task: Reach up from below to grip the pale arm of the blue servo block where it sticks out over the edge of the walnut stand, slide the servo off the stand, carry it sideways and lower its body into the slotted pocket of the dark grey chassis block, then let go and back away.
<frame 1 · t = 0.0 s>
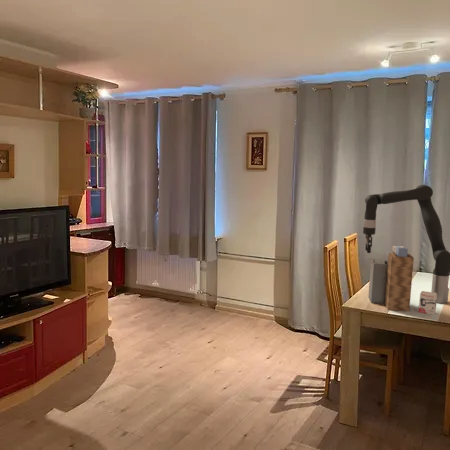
hand: (367, 251, 299), 29 cm above the table, tool pointing down, fingers open, 8 cm apart
stand: (396, 307, 280), on the table
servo: (401, 255, 274), point 32 cm above the table, touching stand
ink box: (426, 312, 273), on the table
chassis: (377, 300, 294), on the table
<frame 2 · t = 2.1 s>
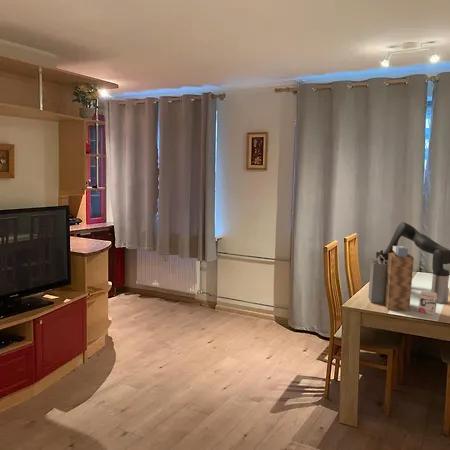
hand: (389, 251, 308), 28 cm above the table, tool pointing upward, fingers open, 8 cm apart
nothing on the table moved.
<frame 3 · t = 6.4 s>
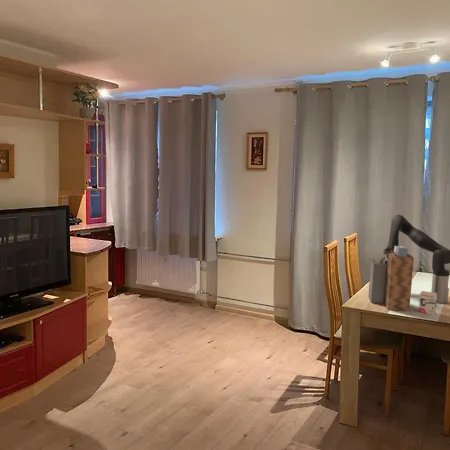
hand: (397, 247, 287), 35 cm above the table, tool pointing upward, fingers closed on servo, 3 cm apart
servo: (401, 255, 274), point 32 cm above the table, touching gripper, stand
everything else where it was.
when the fingers open (26 cm above the table, at t = 13.5 s): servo drops 1 cm, resting on chassis.
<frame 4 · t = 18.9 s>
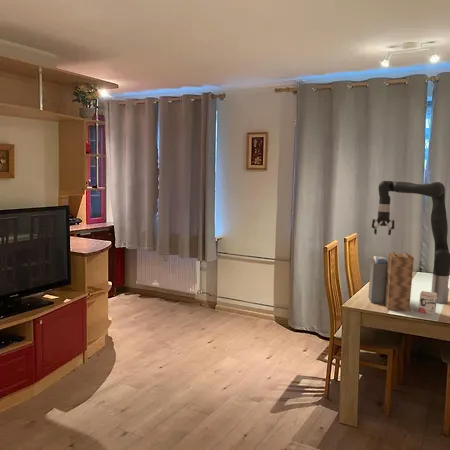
hand: (382, 234, 314), 38 cm above the table, tool pointing down, fingers open, 8 cm apart
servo: (380, 265, 291), point 22 cm above the table, touching chassis
everything else where it was.
at the end: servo 0.0 cm off-centre on the chassis, point 22.2 cm above the chassis's base; the gripper is holding nothing; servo tilted 0° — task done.
